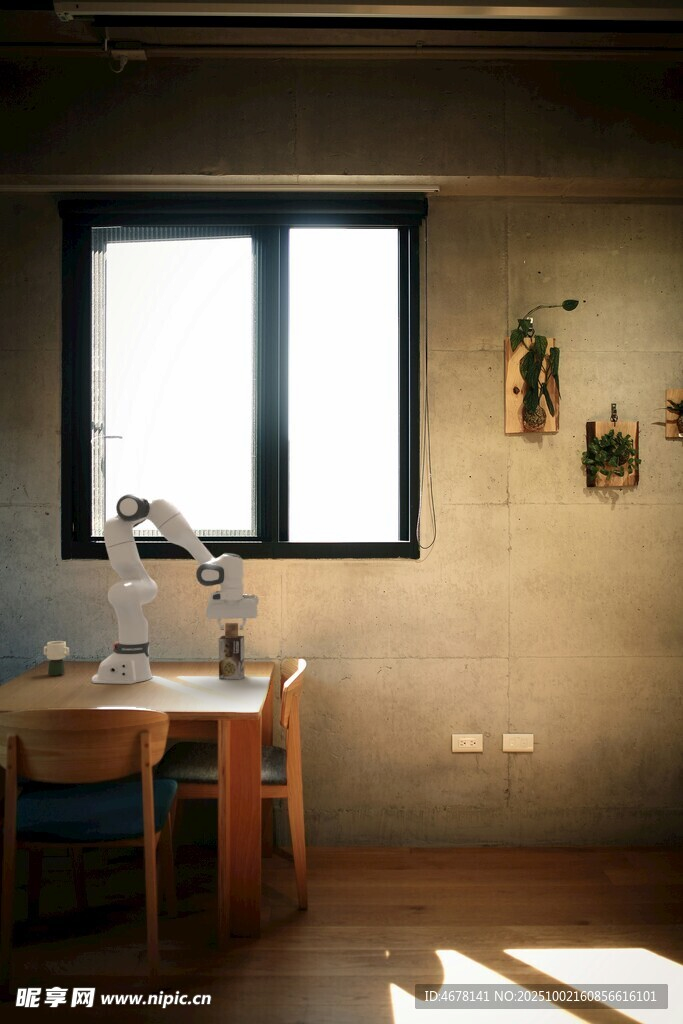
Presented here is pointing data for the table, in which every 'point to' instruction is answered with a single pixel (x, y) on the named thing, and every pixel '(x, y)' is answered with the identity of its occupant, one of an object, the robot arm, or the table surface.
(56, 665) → the trophy cup
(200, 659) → the table surface
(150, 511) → the robot arm
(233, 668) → the coffee box
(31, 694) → the table surface
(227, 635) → the walnut cube
